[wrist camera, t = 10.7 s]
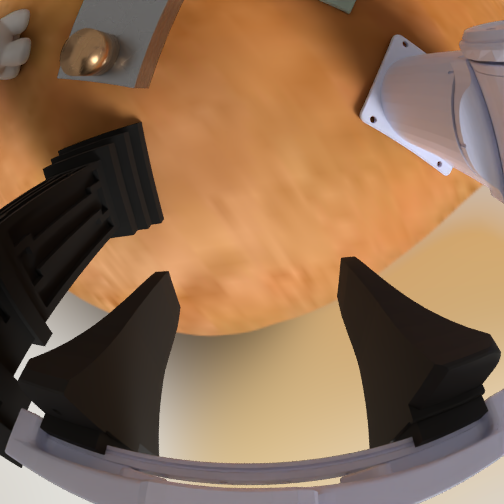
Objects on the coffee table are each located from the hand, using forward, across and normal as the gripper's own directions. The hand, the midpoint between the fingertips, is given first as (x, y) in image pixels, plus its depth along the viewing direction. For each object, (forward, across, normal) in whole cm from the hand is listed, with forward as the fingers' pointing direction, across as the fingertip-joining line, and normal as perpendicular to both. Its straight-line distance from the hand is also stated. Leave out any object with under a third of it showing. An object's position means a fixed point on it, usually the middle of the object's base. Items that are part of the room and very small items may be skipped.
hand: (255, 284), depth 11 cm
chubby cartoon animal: (+11, +22, -19) cm, 31 cm away
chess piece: (+11, +12, -3) cm, 16 cm away
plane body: (+10, +5, -21) cm, 24 cm away
